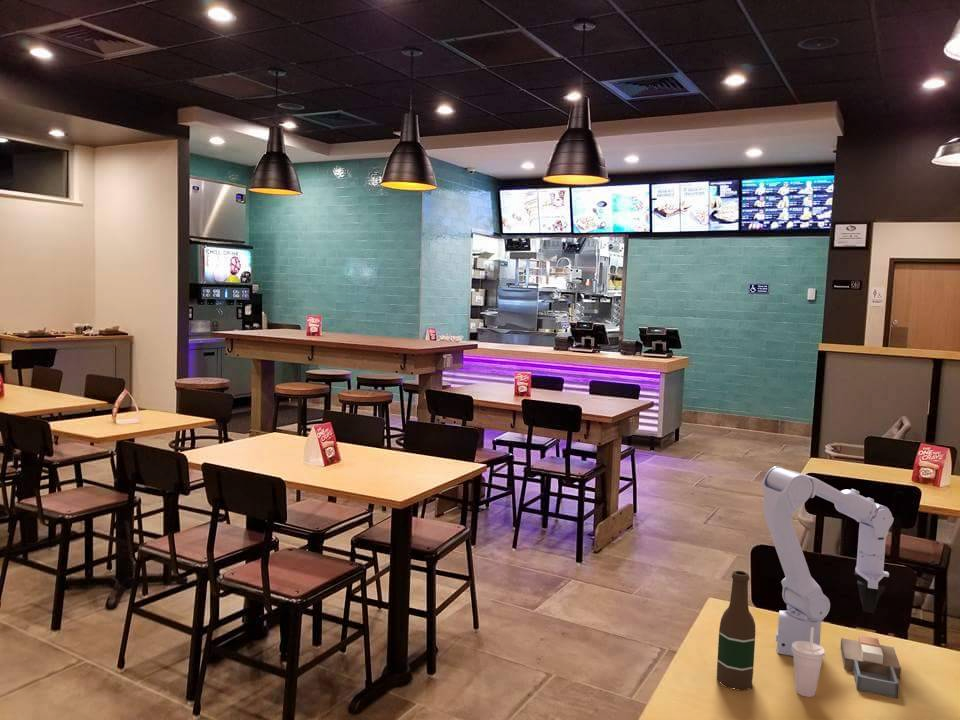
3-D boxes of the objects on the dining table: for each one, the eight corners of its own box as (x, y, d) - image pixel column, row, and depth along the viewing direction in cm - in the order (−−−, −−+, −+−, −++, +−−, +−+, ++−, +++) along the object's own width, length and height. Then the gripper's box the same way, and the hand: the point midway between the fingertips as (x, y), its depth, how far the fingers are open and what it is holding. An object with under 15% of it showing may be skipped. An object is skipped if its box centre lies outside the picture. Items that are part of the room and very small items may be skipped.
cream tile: (862, 660, 162) (862, 651, 162) (860, 652, 166) (861, 644, 166) (882, 664, 161) (883, 655, 160) (880, 656, 164) (880, 647, 164)
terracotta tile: (859, 650, 167) (860, 642, 167) (858, 643, 170) (858, 635, 170) (879, 654, 165) (880, 645, 165) (877, 646, 169) (878, 638, 169)
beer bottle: (725, 669, 161) (731, 563, 160) (760, 682, 156) (766, 573, 154) (708, 681, 156) (714, 572, 154) (743, 695, 150) (750, 582, 149)
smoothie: (825, 702, 149) (830, 636, 148) (792, 698, 150) (796, 632, 149) (817, 686, 155) (821, 622, 154) (785, 682, 156) (789, 619, 155)
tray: (856, 689, 154) (857, 676, 154) (852, 670, 162) (853, 657, 162) (897, 698, 151) (898, 684, 151) (891, 678, 159) (892, 664, 159)
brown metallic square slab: (844, 668, 163) (845, 658, 163) (840, 648, 173) (841, 637, 173) (900, 679, 159) (901, 668, 159) (892, 657, 169) (893, 647, 169)
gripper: (894, 564, 165) (890, 622, 166) (885, 546, 178) (882, 599, 179) (859, 559, 168) (855, 616, 169) (853, 541, 181) (850, 594, 182)
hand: (867, 607), depth 174 cm, fingers open, 5 cm apart
